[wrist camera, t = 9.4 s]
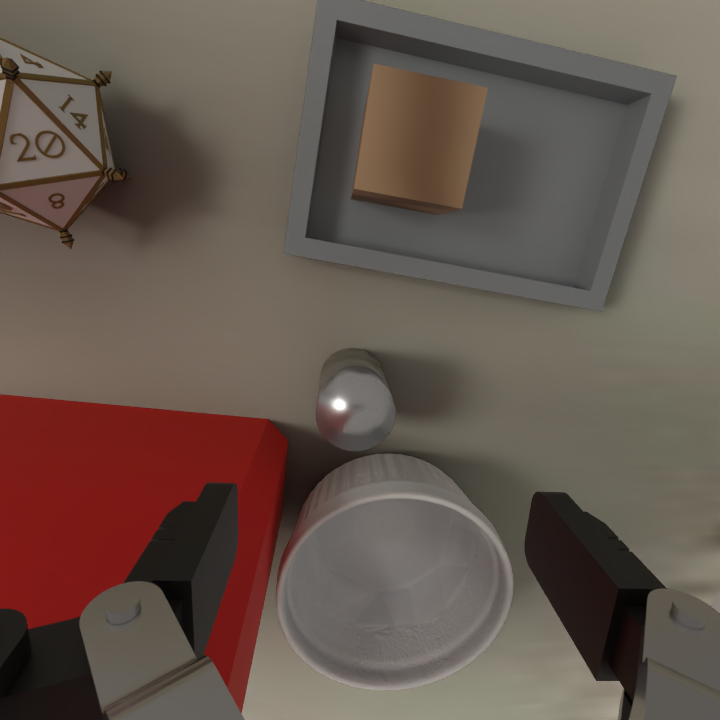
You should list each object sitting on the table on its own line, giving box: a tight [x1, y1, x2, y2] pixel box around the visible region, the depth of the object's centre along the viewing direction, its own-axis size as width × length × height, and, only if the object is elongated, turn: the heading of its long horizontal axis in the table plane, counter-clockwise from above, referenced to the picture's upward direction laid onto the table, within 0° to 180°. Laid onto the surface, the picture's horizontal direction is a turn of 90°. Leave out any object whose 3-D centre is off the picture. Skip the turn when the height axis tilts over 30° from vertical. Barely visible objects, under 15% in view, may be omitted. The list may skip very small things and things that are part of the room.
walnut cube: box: [351, 64, 488, 215], centre depth 22 cm, size 5×5×5 cm
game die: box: [0, 38, 131, 249], centre depth 20 cm, size 9×8×10 cm
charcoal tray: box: [284, 0, 677, 312], centre depth 24 cm, size 18×12×2 cm, turn 80°
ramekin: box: [276, 453, 514, 691], centre depth 28 cm, size 13×13×7 cm
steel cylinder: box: [316, 348, 396, 451], centre depth 25 cm, size 4×4×6 cm
